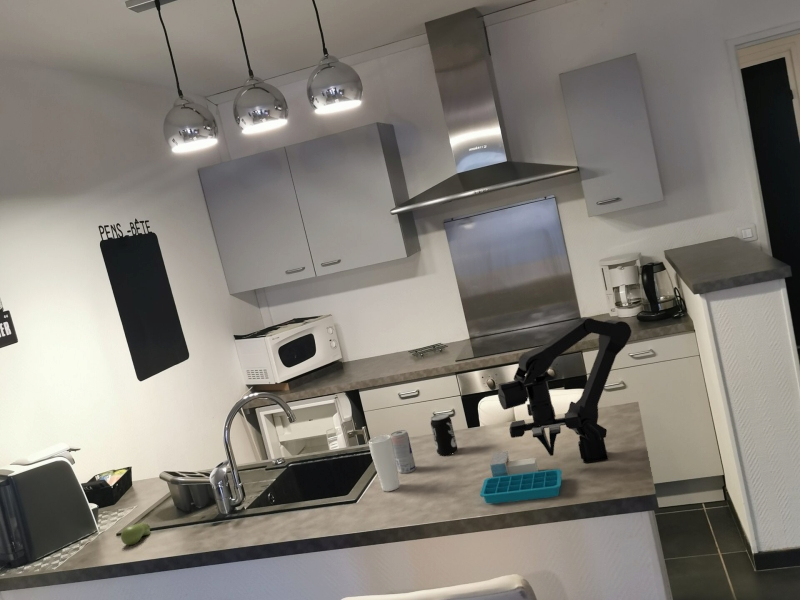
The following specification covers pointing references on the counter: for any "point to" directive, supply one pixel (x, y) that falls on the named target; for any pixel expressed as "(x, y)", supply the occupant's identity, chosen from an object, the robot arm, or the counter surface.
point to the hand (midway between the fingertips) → (551, 455)
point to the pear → (134, 533)
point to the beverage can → (443, 434)
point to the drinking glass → (385, 461)
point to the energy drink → (403, 451)
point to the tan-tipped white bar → (522, 466)
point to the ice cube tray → (522, 486)
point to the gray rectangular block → (499, 464)
